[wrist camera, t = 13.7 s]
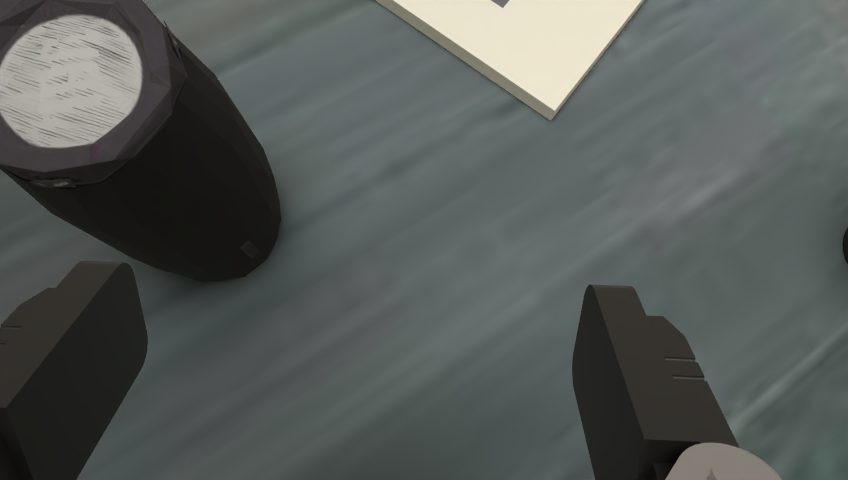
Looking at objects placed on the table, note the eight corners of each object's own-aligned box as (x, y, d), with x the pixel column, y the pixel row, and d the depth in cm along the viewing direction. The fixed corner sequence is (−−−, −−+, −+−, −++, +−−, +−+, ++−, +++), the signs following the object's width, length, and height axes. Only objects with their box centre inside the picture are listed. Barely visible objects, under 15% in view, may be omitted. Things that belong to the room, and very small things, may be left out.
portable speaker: (127, 196, 43) (-107, 20, 24) (263, 137, 44) (143, -76, 25) (175, 316, 41) (-40, 229, 22) (316, 251, 42) (228, 114, 23)
